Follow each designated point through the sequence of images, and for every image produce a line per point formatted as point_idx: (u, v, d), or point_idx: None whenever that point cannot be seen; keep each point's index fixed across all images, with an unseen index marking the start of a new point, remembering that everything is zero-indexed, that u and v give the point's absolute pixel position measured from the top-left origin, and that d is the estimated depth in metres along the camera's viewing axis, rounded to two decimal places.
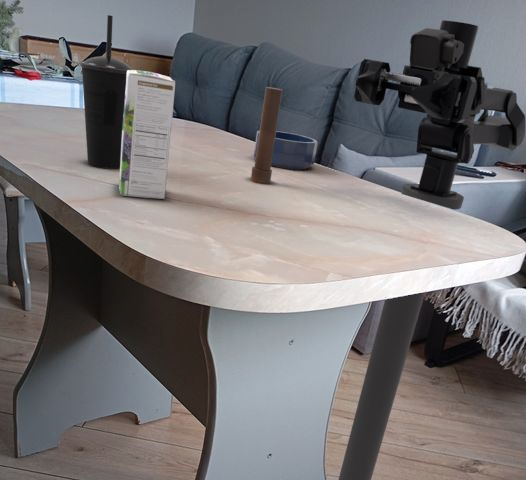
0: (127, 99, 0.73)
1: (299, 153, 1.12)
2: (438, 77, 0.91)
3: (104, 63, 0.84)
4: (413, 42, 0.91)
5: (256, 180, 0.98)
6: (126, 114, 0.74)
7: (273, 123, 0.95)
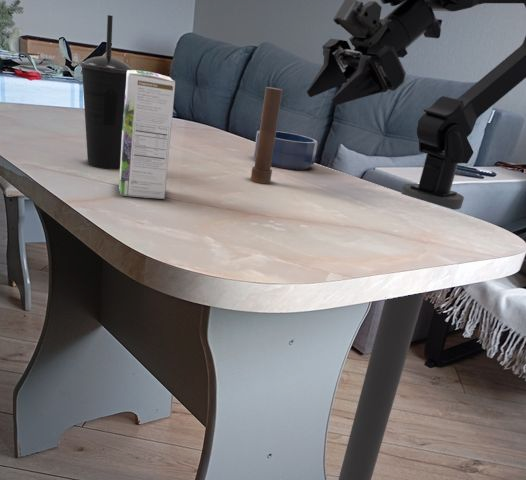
0: (127, 99, 0.73)
1: (299, 153, 1.12)
2: (372, 43, 0.92)
3: (104, 63, 0.84)
4: (339, 23, 0.94)
5: (256, 180, 0.98)
6: (126, 114, 0.74)
7: (273, 123, 0.95)
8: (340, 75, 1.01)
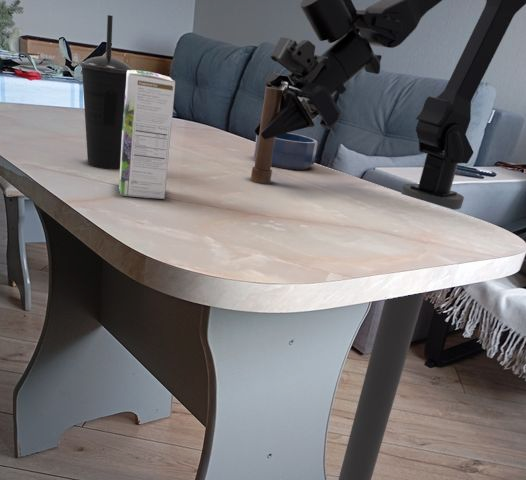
0: (127, 99, 0.73)
1: (299, 153, 1.12)
2: (308, 81, 0.92)
3: (104, 63, 0.84)
4: (276, 60, 0.93)
5: (256, 180, 0.98)
6: (126, 114, 0.74)
7: None
8: None
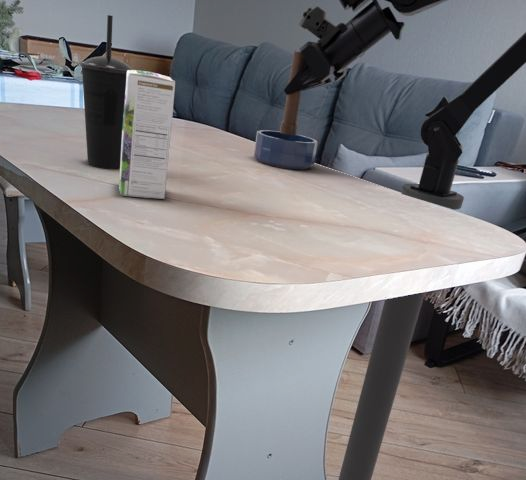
0: (127, 99, 0.73)
1: (299, 153, 1.12)
2: (322, 43, 1.05)
3: (104, 63, 0.84)
4: None
5: (280, 132, 1.15)
6: (126, 114, 0.74)
7: None
8: None
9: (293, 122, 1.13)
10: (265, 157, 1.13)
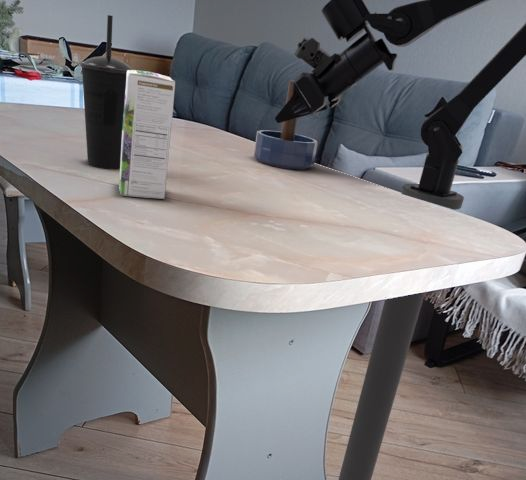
0: (127, 99, 0.73)
1: (299, 153, 1.12)
2: (316, 73, 1.07)
3: (104, 63, 0.84)
4: None
5: None
6: (126, 114, 0.74)
7: None
8: None
9: None
10: (265, 157, 1.13)
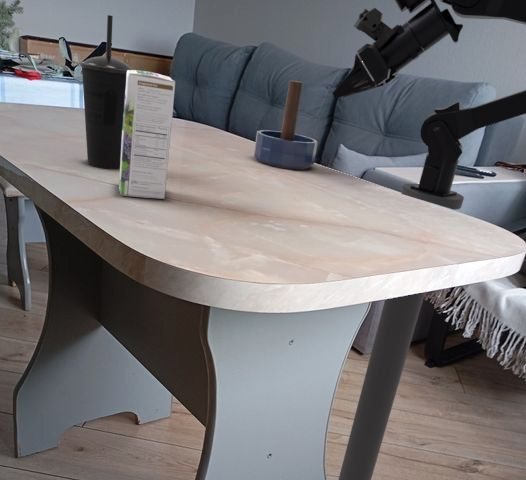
0: (127, 99, 0.73)
1: (299, 153, 1.12)
2: (377, 46, 1.03)
3: (104, 63, 0.84)
4: (363, 30, 1.07)
5: None
6: (126, 114, 0.74)
7: (291, 110, 1.12)
8: None
9: None
10: (265, 157, 1.13)
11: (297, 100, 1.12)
